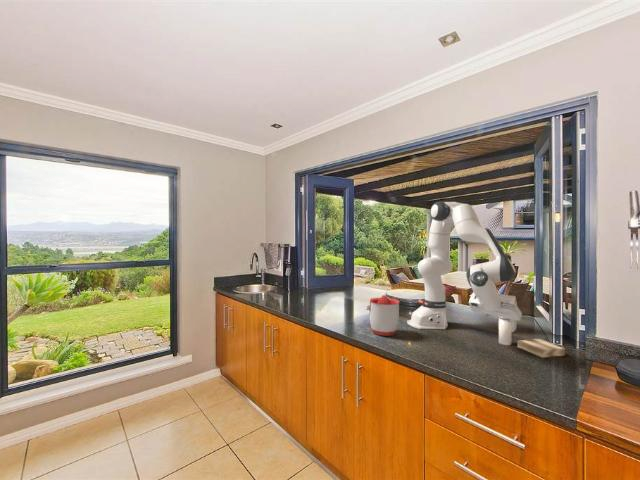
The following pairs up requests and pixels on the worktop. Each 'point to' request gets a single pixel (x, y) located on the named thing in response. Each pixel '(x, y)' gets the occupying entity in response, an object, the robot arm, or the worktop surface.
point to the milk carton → (513, 301)
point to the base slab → (541, 348)
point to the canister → (505, 331)
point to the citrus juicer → (384, 315)
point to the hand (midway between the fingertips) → (499, 318)
